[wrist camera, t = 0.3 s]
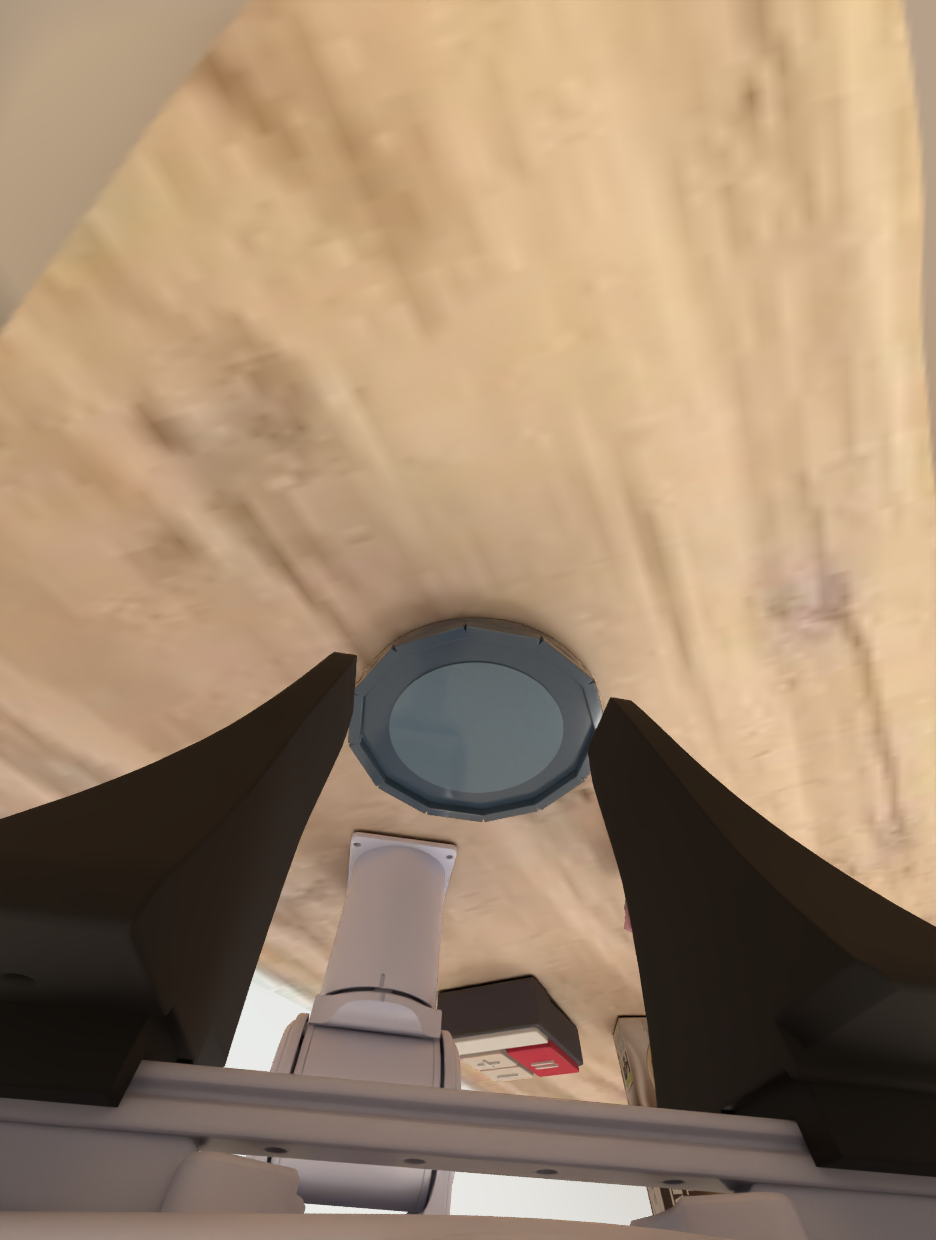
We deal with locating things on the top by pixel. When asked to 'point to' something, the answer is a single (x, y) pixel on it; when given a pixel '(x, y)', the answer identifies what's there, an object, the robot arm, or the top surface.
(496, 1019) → the black red beige box
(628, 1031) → the cookie box
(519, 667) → the plate
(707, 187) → the top surface
